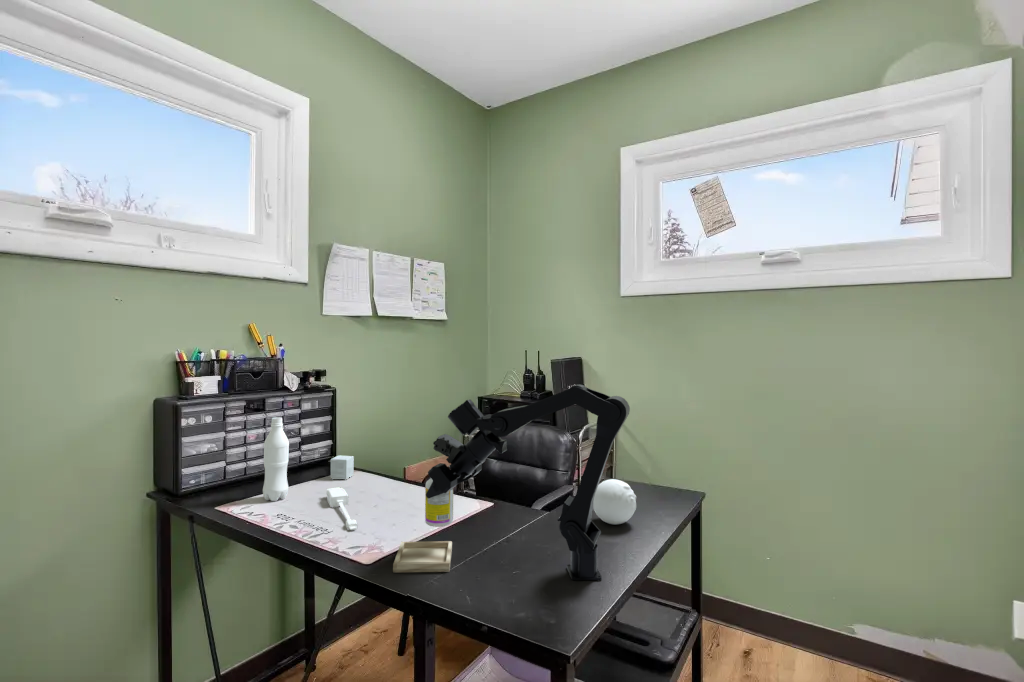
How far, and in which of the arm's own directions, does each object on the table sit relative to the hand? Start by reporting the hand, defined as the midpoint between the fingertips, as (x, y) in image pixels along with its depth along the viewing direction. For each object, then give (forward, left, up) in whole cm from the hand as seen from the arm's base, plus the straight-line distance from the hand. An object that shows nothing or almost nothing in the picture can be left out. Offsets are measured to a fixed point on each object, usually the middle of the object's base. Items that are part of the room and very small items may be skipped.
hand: (434, 492), depth 121 cm
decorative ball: (+15, -48, -14) cm, 53 cm away
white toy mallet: (+27, +28, -14) cm, 41 cm away
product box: (+62, +38, -14) cm, 74 cm away
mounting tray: (-7, +2, -13) cm, 15 cm away
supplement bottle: (-1, -1, -7) cm, 7 cm away
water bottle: (+38, +52, -13) cm, 66 cm away
